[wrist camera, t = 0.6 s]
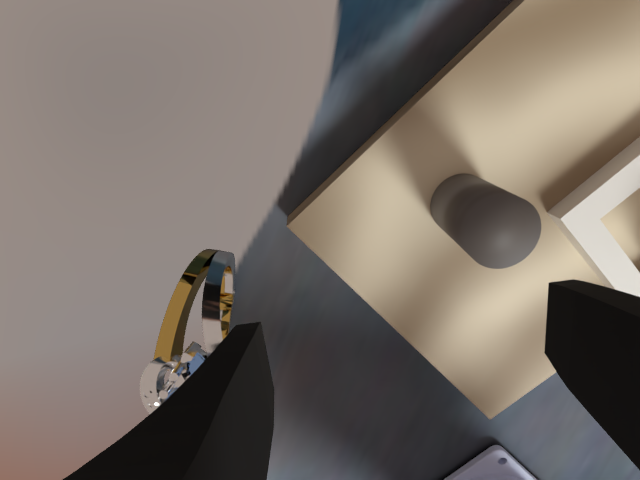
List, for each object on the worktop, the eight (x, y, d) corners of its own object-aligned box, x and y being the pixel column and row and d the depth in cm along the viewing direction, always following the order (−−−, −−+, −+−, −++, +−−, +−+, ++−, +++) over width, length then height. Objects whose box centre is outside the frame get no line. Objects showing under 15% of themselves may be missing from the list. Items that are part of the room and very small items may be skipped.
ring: (198, 221, 19) (134, 305, 12) (268, 232, 19) (248, 320, 12) (188, 350, 21) (128, 490, 14) (250, 357, 22) (225, 497, 14)
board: (742, 205, 20) (895, 244, 15) (478, 399, 23) (529, 487, 18) (580, -65, 16) (714, -139, 11) (287, 216, 19) (283, 262, 14)
